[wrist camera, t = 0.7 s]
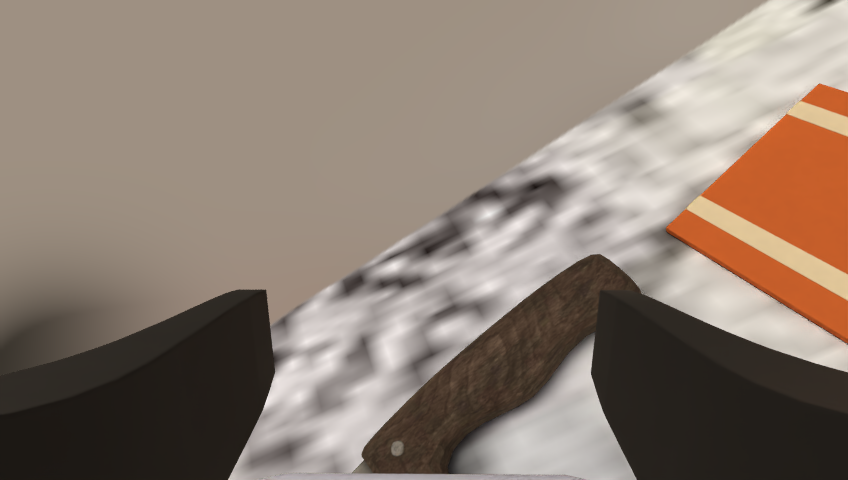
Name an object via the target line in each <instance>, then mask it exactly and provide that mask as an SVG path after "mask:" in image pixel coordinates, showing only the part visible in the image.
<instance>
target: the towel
mask: <svg viewBox="0 0 848 480" xmlns="http://www.w3.org/2000/svg"><path fill="white" fill-rule="evenodd" d="M666 231H667V232H668V233H669V234H671V235H673V236H674V237H676V238H678V239H679V240H681V241H682V242H684V243H686V244H687V245H689V246H691V247H692V248H694V249H695V250H697V251H699V252H700V253H702V254H703V255H705V256H707V257H708V258H710V259H712V260H713V261H715V262H716V263H718V264H720V265H721V266H723V267H725V268H726V269H728V270H729V271H731V272H733V273H734V274H736V275H737V276H739V277H741V278H742V279H744V280H746V281H747V282H749V283H750V284H752V285H754V286H755V287H757V288H759V289H760V290H762V291H763V292H765V293H767V294H768V295H770V296H772V297H773V298H775V299H776V300H778V301H780V302H781V303H783V304H784V305H786V306H788V307H789V308H791V309H793V310H794V311H796V312H797V313H799V314H801V315H802V316H804V317H806V318H807V319H809V320H810V321H812V322H814V323H815V324H817V325H819V326H820V327H822V328H823V329H825V330H827V331H828V332H830V333H831V334H833V335H835V336H836V337H838V338H840V339H841V340H843V341H844V342H846V343H848V93H847V92H844V91H841V90H838V89H835V88H832V87H829V86H826V85H822V84H818V85H817V86H816V87H815V88H814V89H813V90H812V91H811V92H810V93H809V94H807V95H806V96H805V97H804V98H803V99H802V100H801V101H799V102H798V103H797V104H796V105H795V106H794V107H793V108H792V109H791V110H790V111H789V112H787V113H786V115H785V116H784V117H783V118H782V119H781V120H780V121H779V122H778V123H777V124H776V125H775V126H773V127H772V128H771V129H770V130H769V131H768V132H767V133H766V134H765V135H764V136H763V137H762V138H761V139H760V140H759V141H758V142H757V143H755V144H754V145H753V146H752V147H751V148H750V149H749V150H748V151H747V152H746V153H745V154H744V155H743V156H742V157H741V158H740V159H738V160H737V161H736V162H735V163H734V164H733V165H732V166H731V167H730V168H729V169H728V170H727V171H726V172H725V173H724V174H723V175H721V176H720V177H719V178H718V179H717V180H716V181H715V182H714V183H713V184H712V185H711V186H710V187H709V188H708V189H707V190H706V191H704V192H703V193H702V194H701V195H699V196H698V197H697V198H696V199H695V200H694V201H693V202H692V203H691V204H690V205H689V206H688V207H687V208H685V210H684V211H683V212H682V213H681V214H680V215H679V216H678V217H677V218H676V219H675V220H674V221H673V222H672V223H670V224H669V225H668V226H667V227H666Z"/></svg>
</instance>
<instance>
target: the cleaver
mask: <svg viewBox="0 0 848 480" xmlns="http://www.w3.org/2000/svg"><path fill="white" fill-rule="evenodd" d="M600 290H630V291H634V292H637V293H640V294H641V291H640V289H639V287H638V286H637V285H636V284H635V282H634V281H633V280H632V279H631V278H630V277H629V276H628V275H627V274H626V273H624V272H623V271H622V270H621V269H620V268H619V267H618V266H616V265H615V264H614V263H613V262H611V261H610V260H609V259H607V258H605V257H604V256H602V255H600V254H595V255H590V256H588V257H586V258H584V259H582V260H580V261H578V262H576V263H575V264H573V265H572V266H570V267H569V268H567V269H566V270H564V271H563V272H561V273H560V274H558V275H557V276H555V277H554V278H553V279H551V280H550V281H548V282H547V283H546V284H544V285H543V286H541V287H540V288H539V289H537V290H536V291H535V292H534V293H532V294H531V295H530V296H528V297H527V298H526V299H524V300H523V301H522V302H521V303H519V304H518V305H517V306H516V307H514V308H513V309H512V310H511V311H509V312H508V313H507V314H506V315H505V316H503V317H502V318H501V319H500V320H498V321H497V322H496V323H495V324H494V325H492V326H491V327H490V328H489V329H487V330H486V331H485V332H484V333H483V334H481V335H480V336H479V337H478V338H477V339H476V340H474V341H473V342H472V343H471V344H470V345H469V346H467V347H466V348H465V349H464V350H463V351H462V352H460V353H459V354H458V355H457V356H456V357H455V358H454V359H452V360H451V361H450V362H449V363H448V364H447V365H445V366H444V367H443V368H442V369H441V370H440V371H439V372H438V373H437V374H435V375H434V376H433V377H432V378H431V379H430V380H429V381H428V382H427V383H426V384H425V385H424V386H423V387H422V388H420V389H419V390H418V391H417V392H416V393H415V394H414V395H413V396H412V397H411V398H410V399H409V400H408V401H407V402H406V403H405V404H404V405H403V406H402V407H401V408H400V409H399V410H398V411H397V412H396V413H395V414H394V415H393V416H392V417H391V418H390V419H389V420H388V421H387V422H386V423H385V424H384V426H383V427H382V428H381V429H380V430H379V431H378V432H377V433H376V434H375V435H374V436H373V437H372V439H371V440H370V441H369V442H368V443H367V445H366V446H365V447H364V449H363V452H362V457H363V459H364V461H363V462H362V463H361V464H360V465H359V466H358V467H357V468H356V469H355V470H354V471H353V472H352V473H359V474H449V471H448V464H449V461H450V458H451V456H452V453H453V450H454V449H455V447H456V446H457V445H458V444H459V443H460V442H461V441H462V440H463V438H464V437H465V436H466V435H467V434H468V433H470V432H471V431H473V430H474V429H476V428H477V427H479V426H480V425H482V424H483V423H485V422H487V421H490V420H492V419H494V418H496V417H498V416H500V415H502V414H504V413H506V412H508V411H510V410H512V409H514V408H516V407H518V406H520V405H521V404H523V403H524V402H526V401H527V400H529V399H530V398H532V397H533V396H534V395H535V394H536V393H537V392H538V391H539V390H540V389H541V388H542V387H543V386H544V385H545V384H546V383H547V381H548V380H549V378H550V377H551V376H552V374H553V373H554V372H555V370H556V369H557V368H558V366H559V365H560V364H561V362H562V361H563V360H564V358H565V357H566V356H567V354H568V353H569V352H570V351H571V350H572V349H573V348H574V347H575V346H576V345H577V344H578V343H580V342H581V341H582V340H583V339H584V338H585V337H586V336H588V335H590V334H591V333H593V332H595V331H596V322H597V313H598V303H599V294H600Z"/></svg>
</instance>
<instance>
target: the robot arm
mask: <svg viewBox="0 0 848 480" xmlns="http://www.w3.org/2000/svg"><path fill="white" fill-rule="evenodd" d="M274 374H275V368H274V358H273V349H272V340H271V331H270V322H269V313H268V303H267V294H266V290H235V291H231V292H228V293H225V294H223V295H220V296H218V297H215V298H213V299H211V300H209V301H206V302H204V303H202V304H200V305H198V306H195V307H193V308H191V309H189V310H187V311H185V312H182V313H180V314H178V315H176V316H174V317H171V318H169V319H167V320H165V321H163V322H160V323H158V324H156V325H153V326H151V327H148V328H146V329H143V330H141V331H139V332H136V333H134V334H131V335H129V336H127V337H124V338H122V339H119V340H117V341H114V342H112V343H109V344H106V345H103V346H101V347H98V348H95V349H92V350H89V351H86V352H83V353H80V354H77V355H74V356H71V357H68V358H65V359H61V360H58V361H54V362H51V363H47V364H43V365H39V366H35V367H32V368H28V369H24V370H20V371H17V372H13V373H9V374H5V375H1V376H0V480H228V478H229V477H230V475H231V473H232V471H233V469H234V467H235V465H236V463H237V461H238V459H239V457H240V455H241V453H242V451H243V449H244V447H245V445H246V443H247V441H248V439H249V437H250V435H251V433H252V431H253V429H254V427H255V425H256V423H257V421H258V419H259V417H260V415H261V413H262V411H263V408H264V405H265V402H266V399H267V396H268V393H269V390H270V387H271V384H272V380H273V377H274ZM591 375H592V378H593V382H594V385H595V388H596V392H597V395H598V398H599V401H600V404H601V406H602V409H603V412H604V414H605V416H606V419H607V421H608V423H609V425H610V427H611V429H612V431H613V433H614V435H615V437H616V439H617V441H618V443H619V445H620V447H621V449H622V451H623V453H624V455H625V457H626V459H627V461H628V463H629V465H630V467H631V469H632V471H633V473H634V475H635V477H636V479H637V480H848V372H844V371H840V370H836V369H833V368H829V367H826V366H822V365H819V364H815V363H812V362H809V361H806V360H803V359H800V358H797V357H794V356H791V355H788V354H785V353H781V352H778V351H775V350H773V349H770V348H767V347H764V346H762V345H759V344H756V343H754V342H751V341H749V340H746V339H744V338H741V337H739V336H736V335H734V334H731V333H729V332H726V331H724V330H722V329H719V328H717V327H715V326H712V325H710V324H708V323H706V322H703V321H701V320H699V319H697V318H694V317H692V316H690V315H688V314H686V313H684V312H681V311H679V310H677V309H675V308H673V307H670V306H668V305H666V304H664V303H662V302H659V301H657V300H655V299H653V298H650V297H648V296H645V295H643V294H640V293H637V292H634V291H630V290H600V294H599V303H598V313H597V322H596V331H595V341H594V350H593V359H592V369H591ZM257 480H586V479H581V478H577V477H573V476H568V475H494V474H359V473H284V474H280V475H275V476H271V477H266V478H261V479H257Z"/></svg>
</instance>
